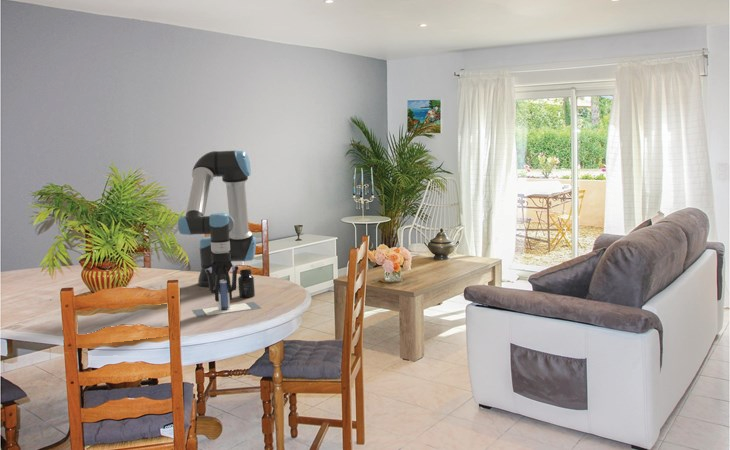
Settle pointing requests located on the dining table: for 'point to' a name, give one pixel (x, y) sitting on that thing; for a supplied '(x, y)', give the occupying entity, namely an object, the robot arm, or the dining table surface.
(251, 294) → the supplement bottle
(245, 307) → the paper
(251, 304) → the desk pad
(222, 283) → the marker
